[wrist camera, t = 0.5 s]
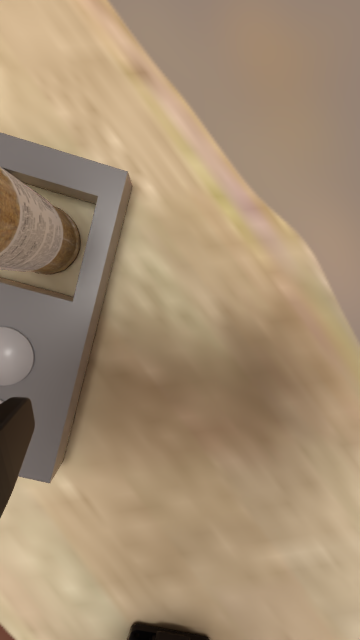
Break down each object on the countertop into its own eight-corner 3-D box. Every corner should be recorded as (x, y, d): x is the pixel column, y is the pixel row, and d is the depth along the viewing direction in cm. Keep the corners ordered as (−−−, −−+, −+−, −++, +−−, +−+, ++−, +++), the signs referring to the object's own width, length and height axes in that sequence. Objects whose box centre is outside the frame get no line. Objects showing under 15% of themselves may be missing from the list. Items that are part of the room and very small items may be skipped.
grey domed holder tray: (63, 460, 22) (46, 489, 19) (-64, 432, 21) (-103, 457, 18) (132, 185, 20) (126, 167, 17) (-5, 144, 19) (-38, 117, 16)
